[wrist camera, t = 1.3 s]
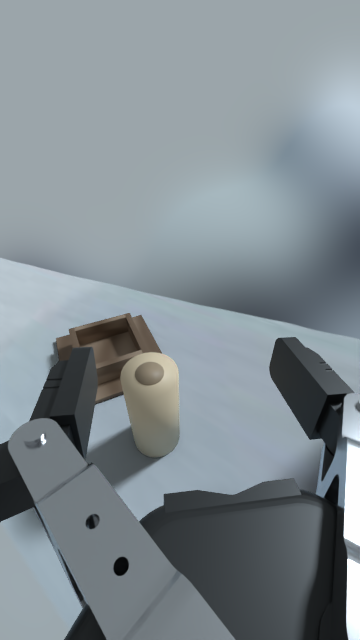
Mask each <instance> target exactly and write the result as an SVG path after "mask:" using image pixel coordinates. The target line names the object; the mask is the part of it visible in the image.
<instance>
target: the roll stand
mask: <svg viewBox="0 0 360 640" xmlns="http://www.w3.org/2000/svg"><path fill="white" fill-rule="evenodd" d="M69 333H70V335H66V336H63V337H59V338H56V342H57V348H58V355H59V361H64V360H69V358H70V355H71V352H72V349H73V348H77V347H93V350H94V357H95V364H96V370H97V378H98V387H97V395H96V400H95V404H97V403H100V402H102V401H105V400H108V399H111V398H113V397H116V396H119V395H122V394H124V393H123V389H122V384H121V379H120V376H121V371H122V369H123V367H124V365H125V364H126V363H127V362H128V361H129V360H130V359H132V358H133V357H135V356H137V355H140V354H143V353H149V352H155V353H161V354H162V352H161V351H160V349H159V347H158V345H157V343H156V341H155V340H154V338H153V336H152V334H151V332H150V330H149V329H148V327H147V325H146V323H145V321H144V319H143V318H142V316H141V315H139V316H136V317H131V315H130V313H127V314H124V315H120V316H116V317H112V318H109V319H105V320H101V321H98V322H94V323H90V324H86V325H83V326H79V327H75V328H71V329H69Z"/></svg>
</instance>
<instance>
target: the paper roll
mask: <svg viewBox="0 0 360 640" xmlns="http://www.w3.org/2000/svg"><path fill="white" fill-rule="evenodd" d="M120 379H121V384H122V389H123V393H124V397H125V401H126V406H127V410H128V414H129V419H130V423H131V427H132V432H133V436H134V440H135V444H136V446H137V448H138V450H139V451H140V452H141V453H143V454H144V455H146V456H149V457H153V458H157V457H163V456H165V455H167V454H169V453H170V452H171V451H173V449H174V448H175V447H176V445H177V443H178V441H179V372H178V367H177V365H176V363H175V362H174V361H173V360H172V359H171V358H170V357H168V356H166V355H164V354H161V353H155V352H149V353H143V354H140V355H137V356H135V357H133V358H132V359H130V360H129V361H128V362H127V363H126V364H125V365H124V367H123V369H122V371H121V376H120Z"/></svg>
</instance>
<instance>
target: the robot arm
mask: <svg viewBox="0 0 360 640" xmlns="http://www.w3.org/2000/svg"><path fill="white" fill-rule="evenodd" d="M269 370H270V375H271V378H272V380H273V382H274V383H275V385H276V386H277V388H278V390H279V391H280V393H281V394H282V396H283V398H284V399H285V401H286V402H287V404H288V406H289V407H290V409H291V410H292V412H293V414H294V415H295V417H296V418H297V420H298V422H299V423H300V425H301V426H302V428H303V430H304V431H305V433H306V434H307V436H308V438H309V439H310V440H311V439H321V438H322V439H323V441H324V445H323V447H322V453H321V461H320V469H319V476H318V484H317V490H316V494H314V493H311V492H308V491H304V490H300V489H299V488H298V486H297V484H296V482H295V480H294V478H292V479H283V480H275V481H267V482H262V483H260V484H258V485H256V486H253V487H251V488H249V489H247V490H245V491H242V492H240V493H238V494H235V495H227V494H220V493H214V492H207V491H200V490H194V491H186V492H178V493H169V494H164V505H163V506H161V507H159V508H157V509H155V510H153V511H152V512H150V513H149V514H147V515H146V516H145V517H144V518H142V519H141V520H140V521H138V520H137V519H136V517H135V516H134V515H133V513H132V512H131V511H130V509H129V508H128V507H127V505H126V504H125V503H124V502H123V500H122V499H121V498H120V496H119V495H118V494H117V492H116V491H115V490H114V488H113V487H112V486H111V484H110V483H109V482H108V481H107V479H106V478H105V477H104V475H103V474H102V473H101V471H100V470H99V469H98V468H97V467H96V465H94V464H93V463H91V464H87V463H86V461H85V459H86V453H87V447H88V441H89V435H90V430H91V424H92V418H93V412H94V406H95V400H96V395H97V387H98V378H97V370H96V364H95V357H94V350H93V347H77V348H73V349H72V352H71V355H70V358H69V360H64V361H59V362H58V363H57V364H56V365H55V366H54V367H53V368H52V369H51V370H50V372H49V375H48V377H47V381H46V382H45V384H44V387H43V390H42V392H41V394H40V396H39V399H38V401H37V404H36V406H35V409H34V411H33V413H32V416H31V418H30V421H29V422H27V423H25V424H24V425H22V426H21V427H19V428H18V429H17V430H16V431H15V432H14V433H13V434H12V436H11V438H10V440H9V441H7V442H5V443H2V444H0V522H1V521H3V520H5V519H8V518H10V517H12V516H14V515H17V514H19V513H21V512H23V511H26V510H28V509H30V508H32V507H33V508H34V510H35V512H36V514H37V516H38V518H39V520H40V522H41V524H42V526H43V528H44V530H45V532H46V534H47V536H48V538H49V540H50V542H51V544H52V546H53V548H54V550H55V552H56V554H57V556H58V559H59V561H60V563H61V565H62V567H63V569H64V572H65V574H66V576H67V578H68V580H69V582H70V584H71V586H72V588H73V590H74V592H75V594H76V596H77V598H78V600H79V602H80V604H81V606H82V608H83V609H82V611H81V613H80V614H79V616H78V618H77V619H76V621H75V623H74V624H73V626H72V628H71V629H70V631H69V633H68V634H67V636H66V638H65V639H64V640H360V393H354V392H353V391H352V389H351V388H350V387H349V386H348V385H347V384H346V383H345V382H344V381H343V380H342V379H341V378H340V377H339V376H338V375H337V374H336V373H335V371H334V370H332V368H331V367H330V366H329V365H328V364H326V362H325V361H324V360H323V359H322V358H321V357H320V356H319V355H318V354H317V353H315V352H314V351H312V350H311V349H309V348H305V347H304V346H303V344H302V343H301V342H300V341H299V340H298V339H297V338H296V337H288V338H278V339H277V340H276V342H275V346H274V350H273V354H272V358H271V362H270V367H269Z"/></svg>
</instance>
